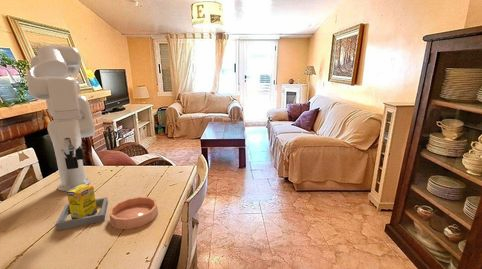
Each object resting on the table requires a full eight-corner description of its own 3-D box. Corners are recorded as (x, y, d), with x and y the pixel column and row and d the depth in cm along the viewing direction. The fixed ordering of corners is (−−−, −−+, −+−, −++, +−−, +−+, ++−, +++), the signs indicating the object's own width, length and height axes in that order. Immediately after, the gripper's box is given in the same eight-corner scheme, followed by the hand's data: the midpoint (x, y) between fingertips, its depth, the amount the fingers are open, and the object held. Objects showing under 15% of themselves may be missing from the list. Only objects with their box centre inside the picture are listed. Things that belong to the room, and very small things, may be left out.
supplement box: (85, 220, 88) (80, 192, 85) (71, 219, 89) (65, 191, 86) (98, 211, 93) (93, 185, 91) (84, 210, 95) (79, 184, 92)
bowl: (112, 210, 94) (111, 201, 94) (155, 201, 100) (154, 193, 100) (109, 233, 80) (107, 223, 80) (159, 221, 86) (158, 213, 86)
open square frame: (66, 210, 95) (65, 204, 94) (108, 202, 100) (107, 197, 99) (56, 230, 82) (55, 224, 82) (104, 220, 88) (103, 214, 87)
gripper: (60, 112, 89) (68, 158, 93) (45, 120, 73) (56, 174, 77) (84, 111, 92) (91, 155, 96) (74, 118, 76) (84, 170, 80)
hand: (75, 163), depth 86 cm, fingers open, 9 cm apart
